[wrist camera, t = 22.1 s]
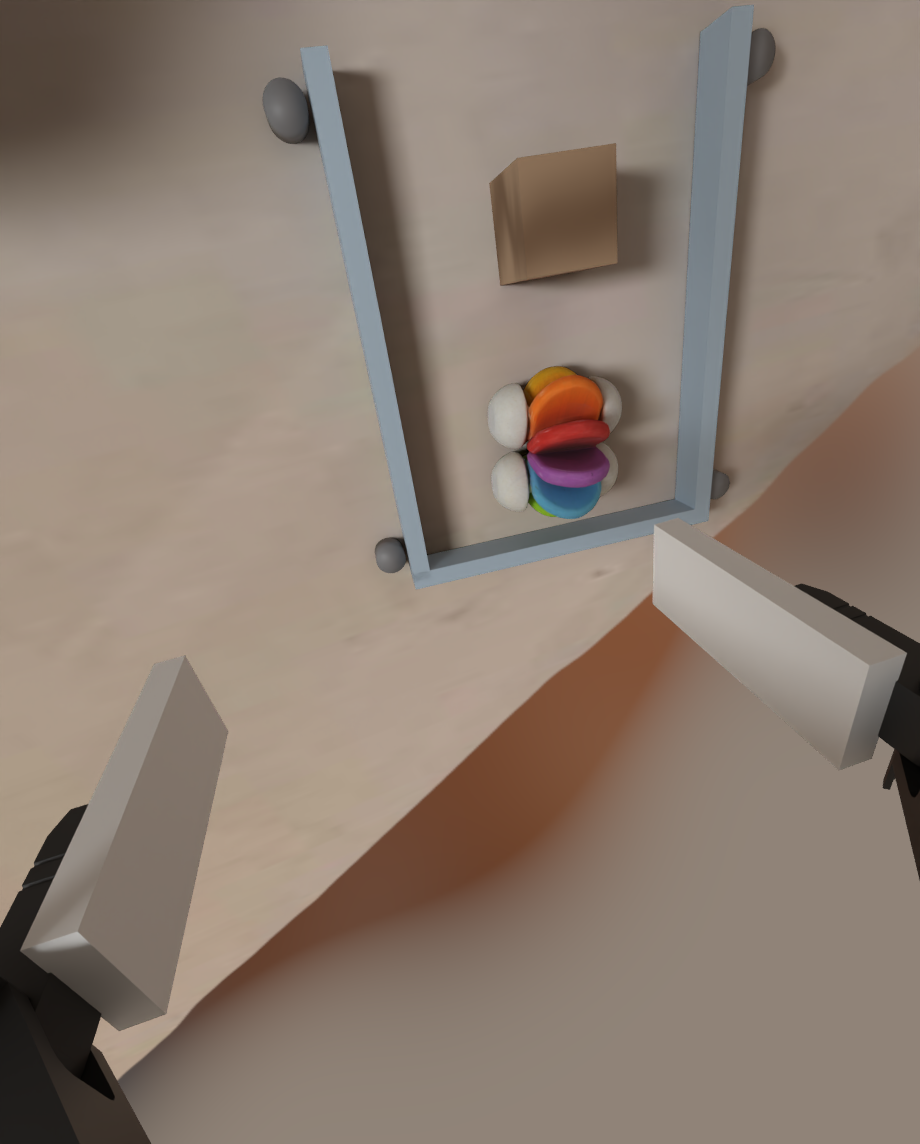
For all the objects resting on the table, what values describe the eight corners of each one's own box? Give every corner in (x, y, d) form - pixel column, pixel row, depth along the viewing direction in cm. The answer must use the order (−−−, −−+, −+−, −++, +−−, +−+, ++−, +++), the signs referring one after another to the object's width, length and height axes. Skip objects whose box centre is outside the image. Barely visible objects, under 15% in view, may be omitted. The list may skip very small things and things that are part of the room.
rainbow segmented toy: (603, 358, 34) (665, 366, 27) (596, 497, 38) (649, 532, 32) (480, 371, 33) (515, 382, 26) (487, 513, 37) (519, 553, 31)
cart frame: (257, 77, 24) (249, 53, 22) (756, 26, 28) (793, 1, 26) (381, 580, 37) (384, 596, 35) (713, 504, 41) (734, 514, 38)
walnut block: (489, 183, 28) (517, 158, 24) (573, 170, 29) (615, 143, 24) (500, 285, 31) (527, 279, 26) (577, 271, 31) (617, 263, 27)
